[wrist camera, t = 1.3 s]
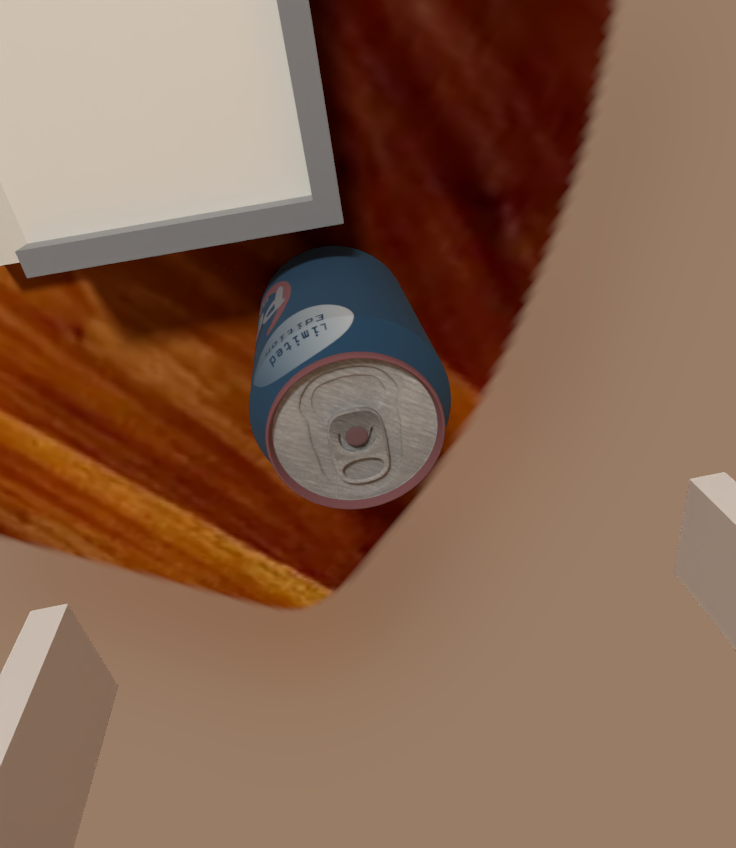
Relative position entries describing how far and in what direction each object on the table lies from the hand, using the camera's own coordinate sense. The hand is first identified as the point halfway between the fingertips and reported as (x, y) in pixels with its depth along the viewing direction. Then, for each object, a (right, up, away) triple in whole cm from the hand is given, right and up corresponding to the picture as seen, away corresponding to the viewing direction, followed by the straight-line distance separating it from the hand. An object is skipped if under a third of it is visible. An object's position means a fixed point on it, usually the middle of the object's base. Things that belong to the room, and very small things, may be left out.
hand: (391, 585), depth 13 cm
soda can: (-2, +9, +16) cm, 19 cm away
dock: (-10, +17, +10) cm, 22 cm away
